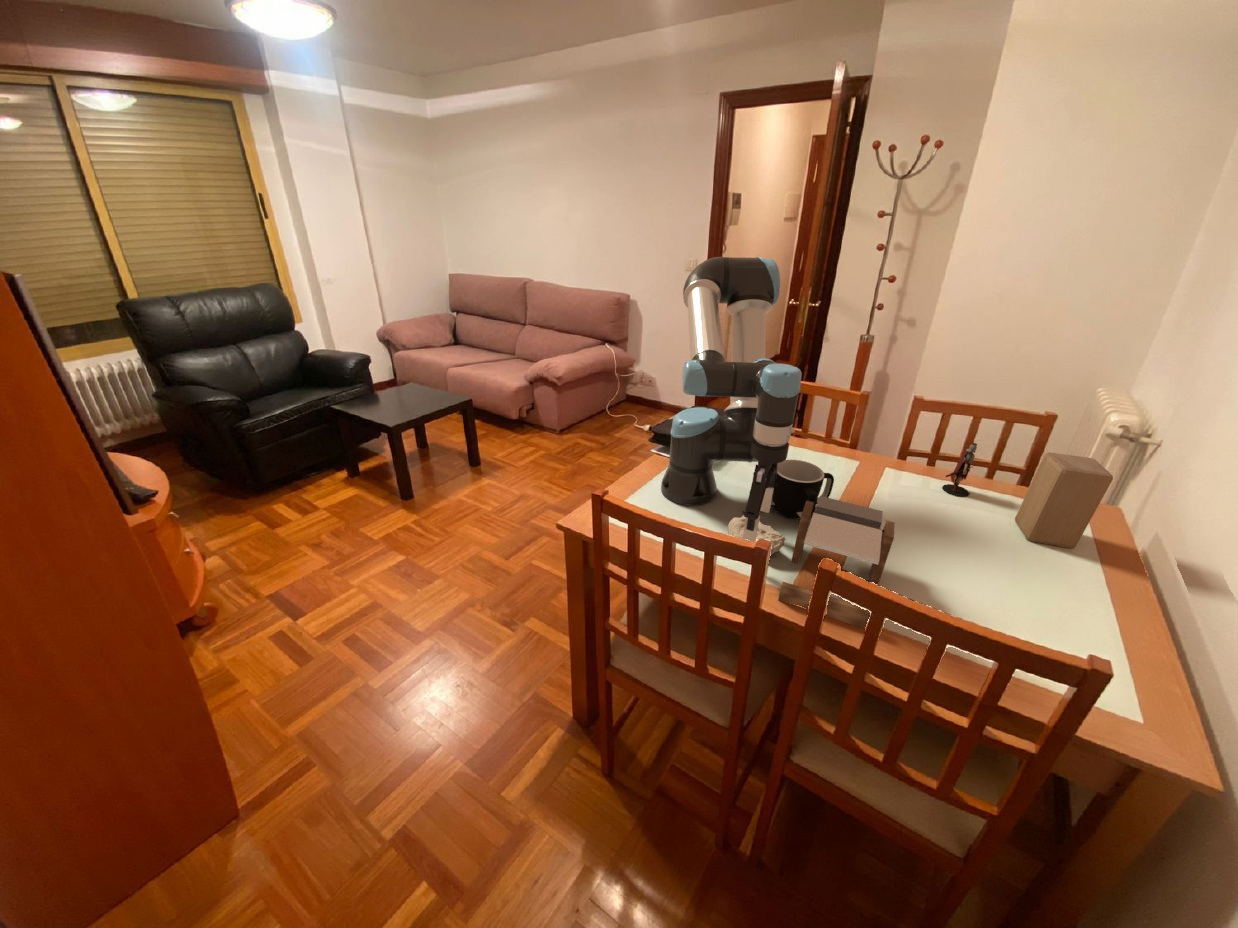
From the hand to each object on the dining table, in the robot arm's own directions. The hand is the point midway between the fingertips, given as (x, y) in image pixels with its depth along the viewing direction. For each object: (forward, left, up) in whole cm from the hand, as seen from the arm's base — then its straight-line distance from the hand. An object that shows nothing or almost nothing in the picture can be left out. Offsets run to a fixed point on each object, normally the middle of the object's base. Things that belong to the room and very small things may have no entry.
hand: (756, 524), depth 114 cm
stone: (0, 0, -7) cm, 7 cm away
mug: (+5, +20, -6) cm, 22 cm away
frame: (+18, -5, -6) cm, 20 cm away
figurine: (+44, +53, -6) cm, 69 cm away
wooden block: (+62, +39, -6) cm, 74 cm away
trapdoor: (+18, -1, +3) cm, 18 cm away
